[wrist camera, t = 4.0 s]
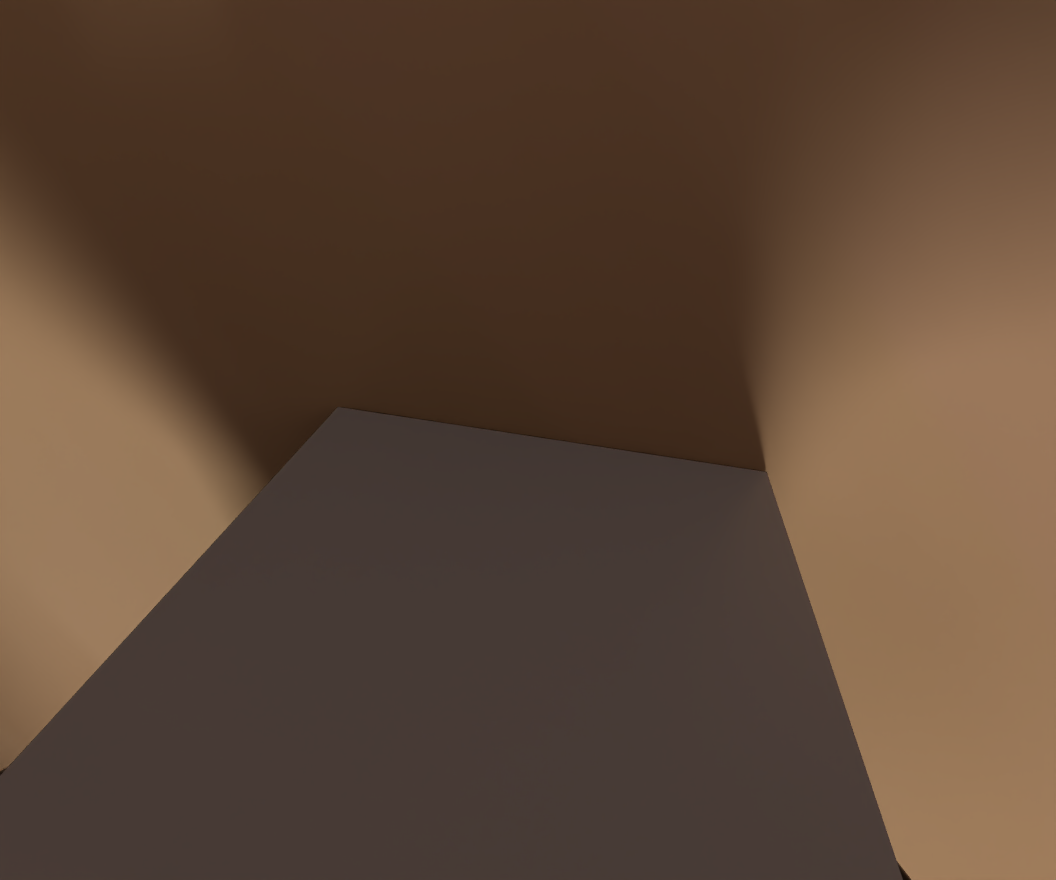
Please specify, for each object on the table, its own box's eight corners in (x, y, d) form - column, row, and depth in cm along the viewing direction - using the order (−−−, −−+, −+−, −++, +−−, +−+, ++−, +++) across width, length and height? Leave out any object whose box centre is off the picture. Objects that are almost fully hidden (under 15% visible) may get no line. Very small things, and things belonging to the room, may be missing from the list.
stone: (681, 781, 11) (726, 1477, 5) (338, 719, 11) (60, 1315, 6) (767, 471, 9) (984, 1119, 3) (338, 406, 9) (-109, 894, 4)
